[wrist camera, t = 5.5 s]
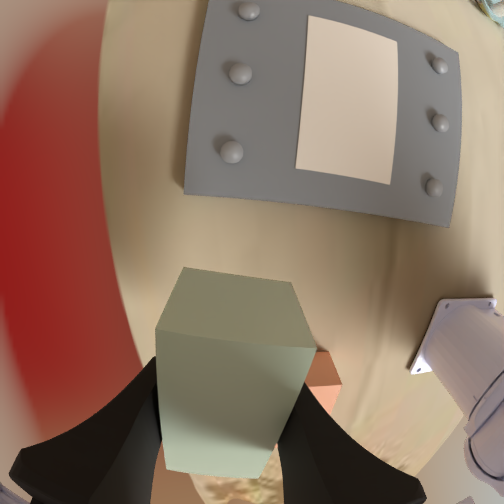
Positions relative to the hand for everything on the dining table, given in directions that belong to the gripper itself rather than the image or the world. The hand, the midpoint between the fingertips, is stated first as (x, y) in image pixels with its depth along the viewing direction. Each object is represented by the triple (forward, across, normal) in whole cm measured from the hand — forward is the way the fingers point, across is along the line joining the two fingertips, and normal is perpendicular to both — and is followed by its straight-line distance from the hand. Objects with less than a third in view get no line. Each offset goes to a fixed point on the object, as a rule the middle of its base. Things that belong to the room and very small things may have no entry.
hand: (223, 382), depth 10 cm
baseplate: (+8, -6, -13) cm, 17 cm away
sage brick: (+2, 0, 0) cm, 2 cm away
